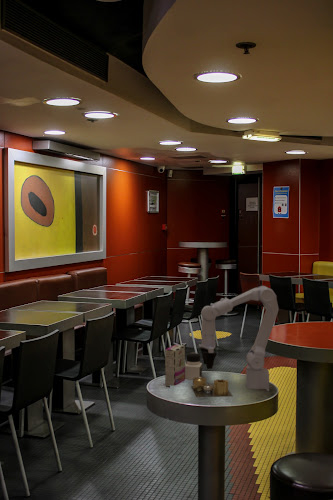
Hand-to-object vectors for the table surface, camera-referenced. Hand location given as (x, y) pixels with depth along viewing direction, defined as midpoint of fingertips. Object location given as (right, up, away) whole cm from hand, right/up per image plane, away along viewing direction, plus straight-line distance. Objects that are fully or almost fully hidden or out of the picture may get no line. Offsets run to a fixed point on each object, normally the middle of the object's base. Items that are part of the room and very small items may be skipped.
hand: (208, 366), depth 249 cm
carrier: (+1, -10, -5) cm, 12 cm away
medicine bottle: (-6, -9, +16) cm, 19 cm away
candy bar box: (-14, -10, +8) cm, 19 cm away
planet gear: (+5, -9, -9) cm, 14 cm away
